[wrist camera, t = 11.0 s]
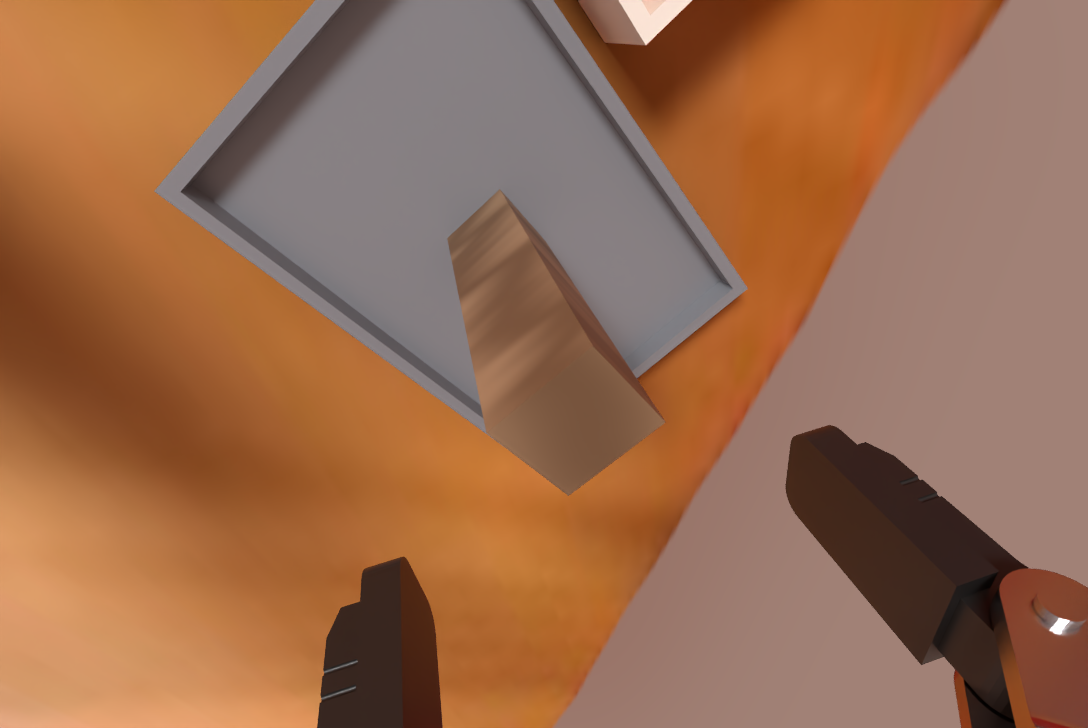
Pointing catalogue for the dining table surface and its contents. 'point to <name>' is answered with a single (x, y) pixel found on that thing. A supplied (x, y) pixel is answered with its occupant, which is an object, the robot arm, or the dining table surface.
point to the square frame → (631, 18)
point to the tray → (447, 179)
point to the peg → (542, 353)
